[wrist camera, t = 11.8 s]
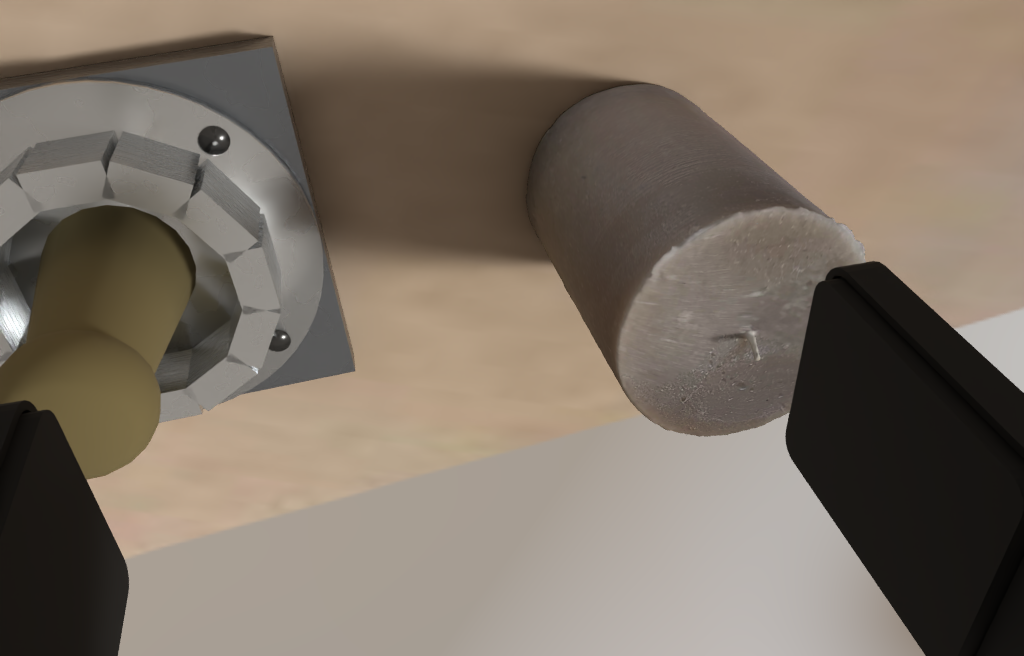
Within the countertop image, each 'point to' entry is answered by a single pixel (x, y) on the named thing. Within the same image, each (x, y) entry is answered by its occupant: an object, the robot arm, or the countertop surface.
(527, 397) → the countertop surface
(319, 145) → the countertop surface
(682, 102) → the pillar candle
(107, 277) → the olive knobbed peg
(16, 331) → the rosette plate
